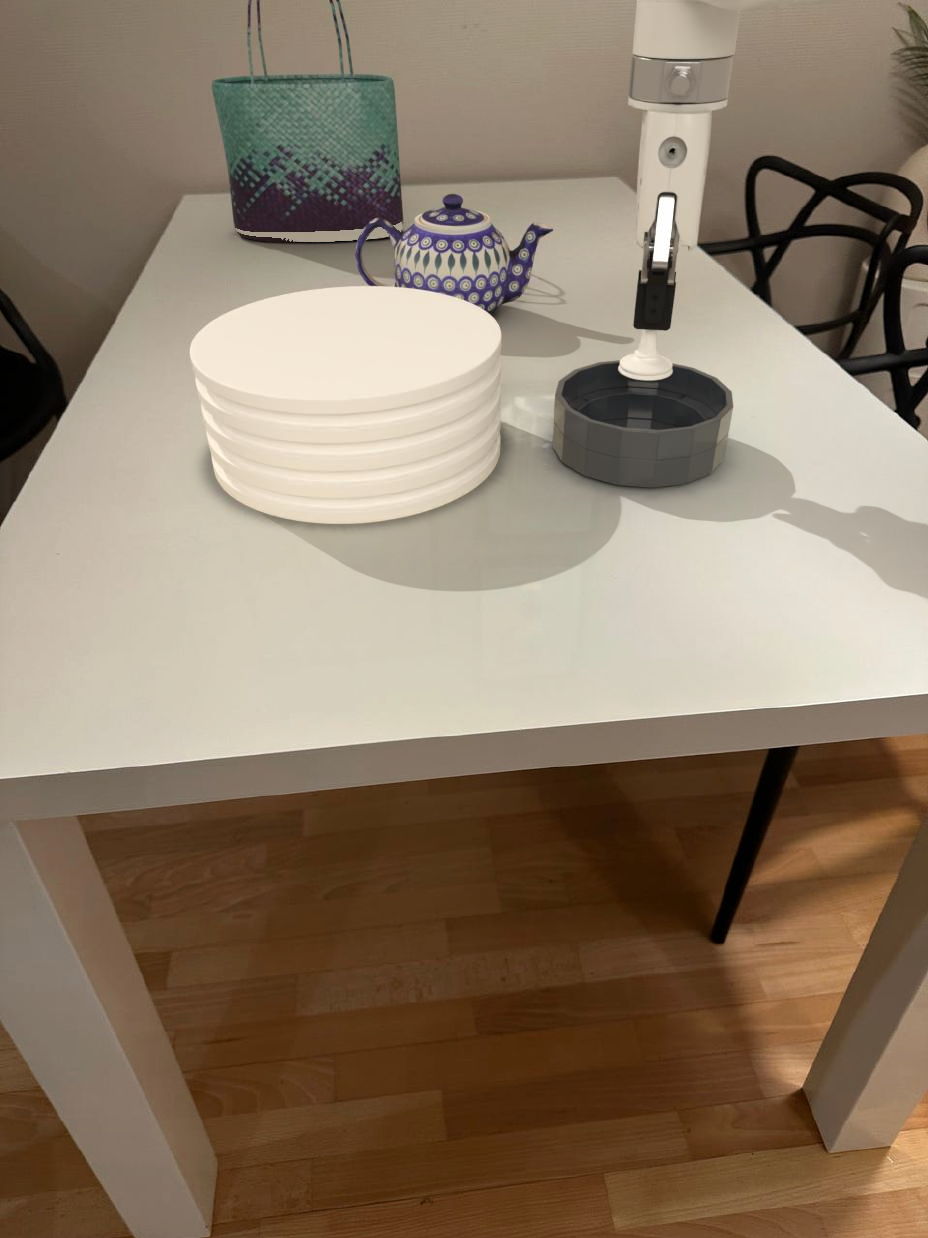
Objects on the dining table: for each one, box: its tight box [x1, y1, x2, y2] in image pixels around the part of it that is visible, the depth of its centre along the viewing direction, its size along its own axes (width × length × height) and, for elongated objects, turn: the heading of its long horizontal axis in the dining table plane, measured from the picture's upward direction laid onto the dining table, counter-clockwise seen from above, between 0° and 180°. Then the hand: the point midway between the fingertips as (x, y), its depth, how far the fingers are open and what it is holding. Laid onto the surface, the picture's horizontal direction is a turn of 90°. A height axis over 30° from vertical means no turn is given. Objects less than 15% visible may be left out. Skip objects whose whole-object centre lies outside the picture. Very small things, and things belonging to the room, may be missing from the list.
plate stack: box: [189, 285, 503, 525], centre depth 85 cm, size 28×28×12 cm
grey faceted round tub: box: [552, 359, 734, 489], centre depth 85 cm, size 16×16×6 cm
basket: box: [211, 0, 404, 243], centre depth 138 cm, size 28×12×40 cm, turn 88°
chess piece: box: [618, 279, 674, 381], centre depth 79 cm, size 5×5×10 cm
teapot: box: [354, 193, 554, 315], centre depth 114 cm, size 25×15×15 cm, turn 85°
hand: (652, 321), depth 79 cm, fingers closed on chess piece
